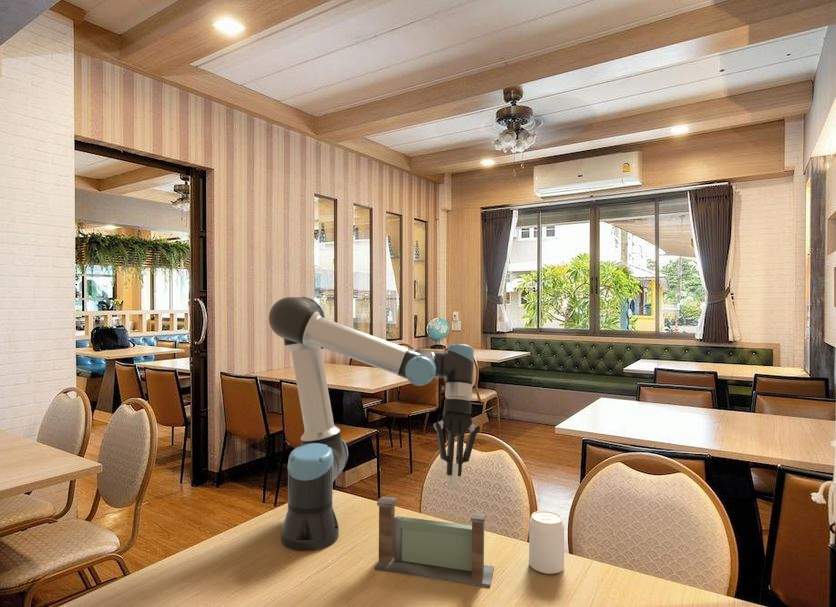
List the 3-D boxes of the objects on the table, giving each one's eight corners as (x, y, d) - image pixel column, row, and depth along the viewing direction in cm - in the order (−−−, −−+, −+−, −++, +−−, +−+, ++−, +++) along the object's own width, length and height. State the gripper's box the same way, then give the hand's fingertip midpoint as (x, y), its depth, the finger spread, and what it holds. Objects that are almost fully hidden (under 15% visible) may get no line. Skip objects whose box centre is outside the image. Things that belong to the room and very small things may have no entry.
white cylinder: (565, 578, 115) (565, 526, 115) (529, 574, 117) (529, 522, 116) (562, 560, 123) (563, 511, 123) (528, 556, 125) (529, 508, 124)
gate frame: (383, 552, 126) (384, 494, 126) (493, 568, 119) (494, 506, 119) (372, 569, 118) (373, 506, 118) (490, 587, 111) (490, 520, 111)
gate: (395, 555, 122) (396, 515, 122) (483, 568, 117) (484, 526, 117) (392, 560, 120) (393, 519, 120) (482, 574, 114) (482, 531, 114)
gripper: (476, 403, 145) (472, 489, 138) (432, 398, 143) (426, 486, 136) (484, 400, 138) (480, 492, 131) (438, 396, 136) (432, 488, 129)
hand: (452, 488), depth 133 cm, fingers closed
